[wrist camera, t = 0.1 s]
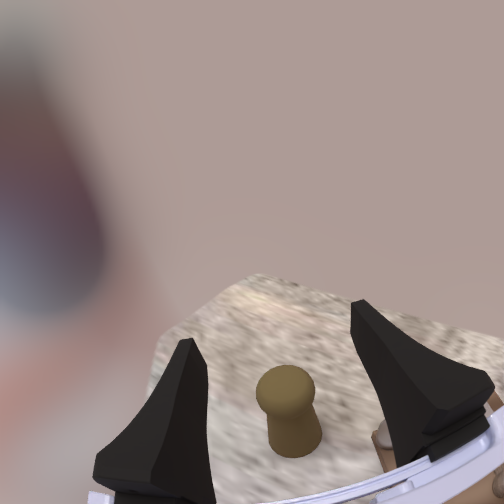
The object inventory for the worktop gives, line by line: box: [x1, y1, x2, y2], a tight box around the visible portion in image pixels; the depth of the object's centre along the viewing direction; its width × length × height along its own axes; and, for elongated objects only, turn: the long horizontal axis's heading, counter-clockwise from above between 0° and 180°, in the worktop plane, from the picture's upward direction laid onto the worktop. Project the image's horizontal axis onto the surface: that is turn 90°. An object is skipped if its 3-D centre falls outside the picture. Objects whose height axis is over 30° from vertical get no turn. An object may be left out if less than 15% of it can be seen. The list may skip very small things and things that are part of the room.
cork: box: [256, 365, 322, 458], centre depth 25 cm, size 6×6×11 cm
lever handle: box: [483, 402, 504, 498], centre depth 14 cm, size 12×4×3 cm, turn 5°
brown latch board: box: [371, 391, 504, 504], centre depth 15 cm, size 20×16×4 cm
